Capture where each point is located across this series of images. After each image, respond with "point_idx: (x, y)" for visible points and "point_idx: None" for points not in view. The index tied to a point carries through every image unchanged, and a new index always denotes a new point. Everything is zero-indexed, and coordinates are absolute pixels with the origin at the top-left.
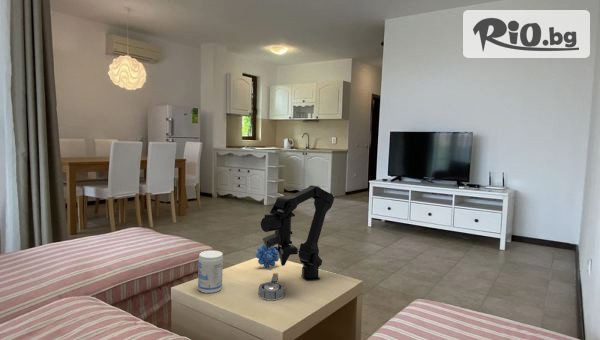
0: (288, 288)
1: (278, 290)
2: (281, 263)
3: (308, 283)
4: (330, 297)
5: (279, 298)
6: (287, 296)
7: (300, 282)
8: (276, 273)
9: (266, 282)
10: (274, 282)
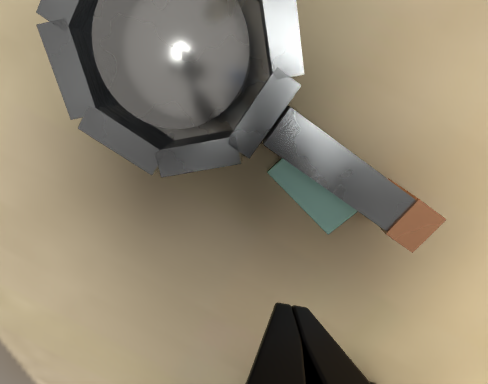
0: (245, 228)
1: (64, 69)
2: (285, 322)
3: None
4: (33, 353)
5: None
6: None
7: None
8: (420, 239)
9: (299, 53)
10: (258, 129)
